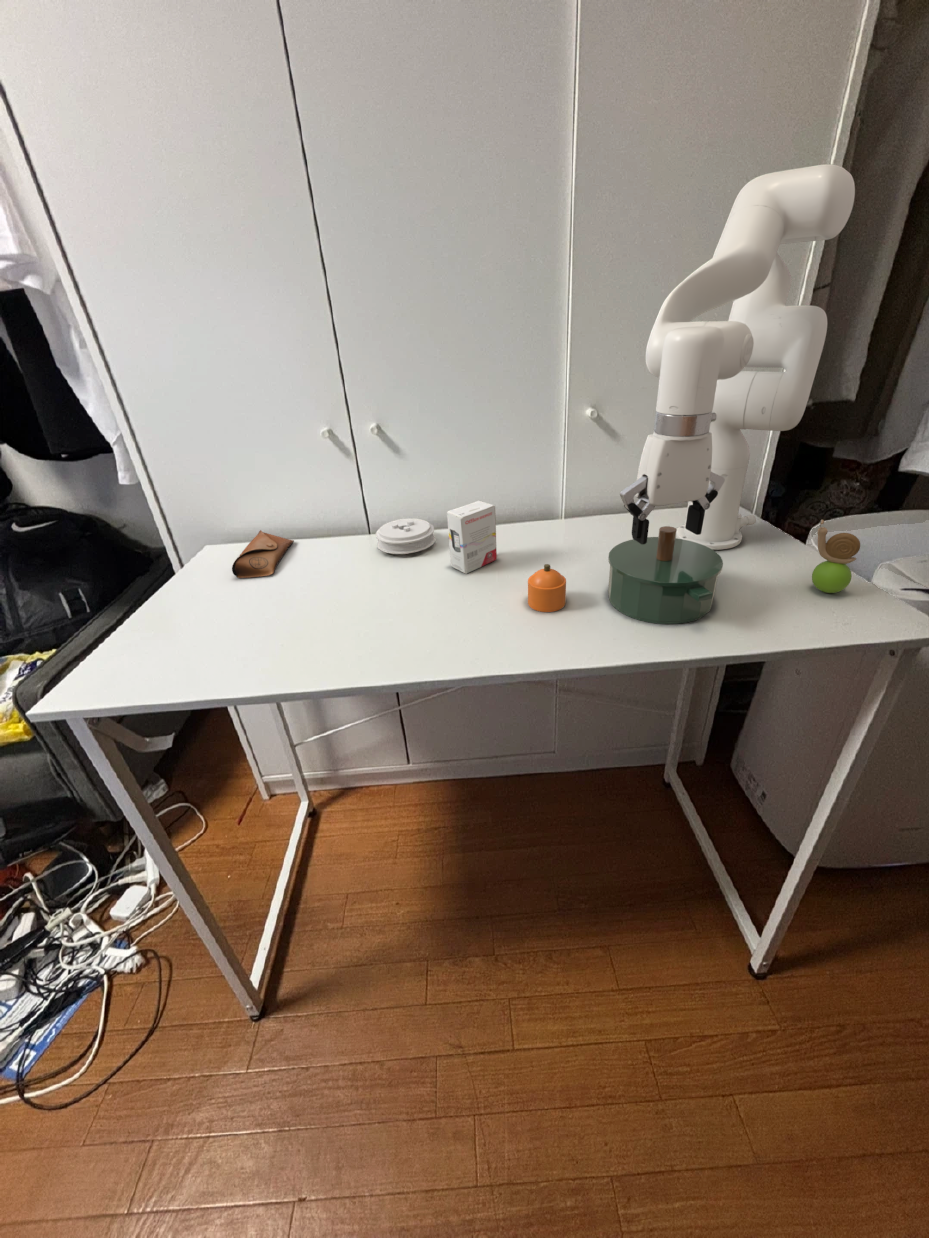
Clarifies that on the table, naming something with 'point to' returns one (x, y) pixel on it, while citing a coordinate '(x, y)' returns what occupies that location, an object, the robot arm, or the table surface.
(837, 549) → the snail figurine
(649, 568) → the crock lid
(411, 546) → the white flat cylinder
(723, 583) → the table surface
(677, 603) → the crock
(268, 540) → the sunglasses case
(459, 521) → the ink box
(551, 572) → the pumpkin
